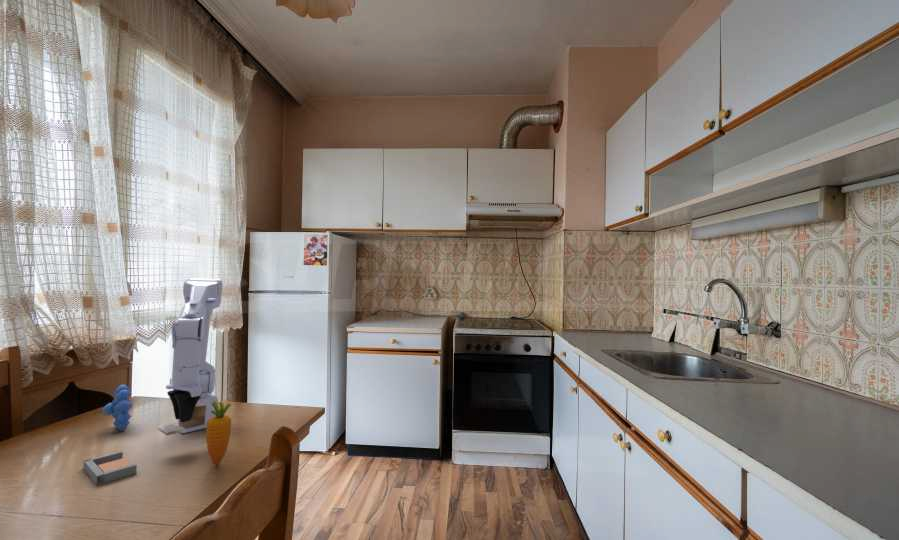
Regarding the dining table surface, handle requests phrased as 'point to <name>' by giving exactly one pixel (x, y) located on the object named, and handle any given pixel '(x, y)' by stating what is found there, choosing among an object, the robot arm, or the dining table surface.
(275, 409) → the dining table surface
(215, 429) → the carrot
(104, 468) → the tile
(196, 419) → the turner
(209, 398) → the robot arm
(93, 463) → the bay
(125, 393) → the grapes
